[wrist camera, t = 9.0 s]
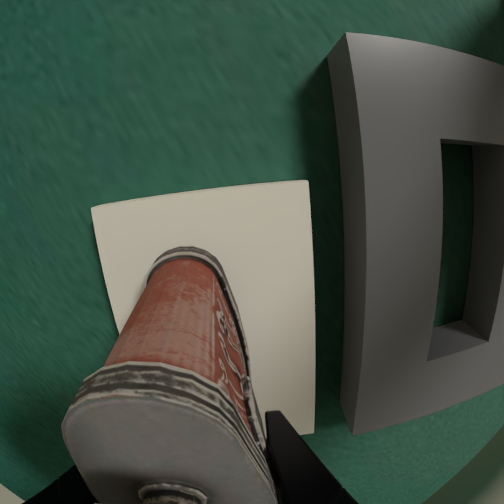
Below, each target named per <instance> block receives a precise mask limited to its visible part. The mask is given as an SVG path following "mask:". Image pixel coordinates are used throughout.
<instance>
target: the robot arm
mask: <svg viewBox="0 0 504 504" xmlns="http://www.w3.org/2000/svg"><path fill="white" fill-rule="evenodd" d="M265 424H266V437H267V446H268V453H269V461H270V472H271V477H272V480H273V483H274V486H275V489H276V491H277V494H278V498H279V502H280V504H358V502H357V501H356V500H355V499H354V498H353V497H352V496H351V495H350V494H349V493H348V492H347V491H346V490H345V488H342V485H341V484H340V483H339V482H338V481H337V480H336V478H335V477H334V476H333V475H332V474H331V473H330V471H329V470H328V469H327V468H326V467H325V465H324V464H323V463H322V462H321V461H320V460H319V458H318V457H317V456H316V455H315V454H314V452H313V451H312V450H311V449H310V447H309V446H308V445H307V444H306V443H305V441H304V440H303V439H302V438H301V436H300V435H299V434H298V433H297V431H296V430H295V429H294V428H293V426H292V425H291V424H290V423H289V421H288V420H287V419H286V417H285V416H284V415H283V414H282V412H281V411H280V410H273V411H266V412H265ZM22 504H100V503H99V502H98V501H97V499H96V498H95V497H94V496H93V494H92V493H91V491H90V490H89V488H88V486H87V484H86V483H85V481H84V479H83V477H82V476H81V474H80V472H79V470H78V468H77V466H76V464H75V465H74V466H73V467H71V468H70V469H69V470H68V471H66V472H65V473H64V474H63V475H61V476H60V477H59V480H58V479H56V480H55V481H54V482H53V483H51V484H50V485H49V486H47V487H46V488H45V489H43V490H42V491H41V492H39V493H38V494H36V495H35V496H33V497H32V498H30V499H29V500H27V501H25V502H24V503H22Z"/></svg>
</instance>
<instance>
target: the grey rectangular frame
mask: <svg viewBox="0 0 504 504" xmlns="http://www.w3.org/2000/svg"><path fill="white" fill-rule="evenodd" d="M327 60H328V66H329V73H330V79H331V87H332V94H333V102H334V110H335V119H336V128H337V138H338V148H339V160H340V173H341V187H342V205H343V228H344V335H343V357H342V374H341V389H340V401H339V403H340V405H341V408H342V410H343V413H344V416H345V418H346V421H347V424H348V426H349V429H350V432H351V434H352V436H353V435H357V434H362V433H366V432H370V431H374V430H378V429H382V428H386V427H389V426H393V425H396V424H400V423H403V422H407V421H410V420H413V419H416V418H419V417H422V416H425V415H428V414H431V413H434V412H437V411H440V410H443V409H445V408H448V407H451V406H453V405H456V404H458V403H461V402H463V401H466V400H468V399H471V398H473V397H475V396H478V395H480V394H482V393H485V392H487V391H489V390H491V389H493V388H495V387H498V386H500V385H502V384H504V66H503V65H501V64H498V63H495V62H492V61H489V60H486V59H483V58H480V57H476V56H473V55H470V54H466V53H463V52H459V51H455V50H451V49H447V48H443V47H439V46H435V45H430V44H425V43H421V42H415V41H410V40H404V39H398V38H392V37H385V36H377V35H369V34H359V33H348V32H345V34H344V35H343V36H342V37H341V39H340V40H339V41H338V42H337V44H336V45H335V46H334V47H333V49H332V50H331V51H330V52H329V54H328V55H327ZM441 143H444V144H458V145H469V146H472V159H473V191H474V200H473V232H472V247H471V259H470V269H469V277H468V285H467V292H466V299H465V305H464V311H463V317H462V320H459V321H456V322H452V323H448V324H444V325H440V326H436V327H433V324H434V318H435V311H436V303H437V296H438V287H439V277H440V266H441V252H442V232H443V177H442V157H441Z"/></svg>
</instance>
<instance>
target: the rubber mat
mask: <svg viewBox="0 0 504 504" xmlns="http://www.w3.org/2000/svg"><path fill="white" fill-rule="evenodd" d="M91 212H92V218H93V224H94V230H95V235H96V241H97V246H98V251H99V256H100V261H101V265H102V270H103V274H104V279H105V283H106V287H107V291H108V295H109V299H110V303H111V307H112V310H113V314H114V318H115V321H116V325H117V328H118V332H119V335H120V333H121V331H122V329H123V327H124V325H125V324H126V322H127V320H128V318H129V316H130V314H131V312H132V311H133V309H134V307H135V305H136V303H137V302H138V300H139V298H140V296H141V294H142V293H143V291H144V281H145V276H146V274H147V272H148V271H149V269H150V268H151V266H152V265H153V263H154V261H155V260H156V258H157V257H159V256H160V255H161V254H163V253H164V252H165V251H167V250H169V249H172V248H175V247H178V246H195V247H198V248H202V249H205V250H207V251H208V252H210V253H211V254H212V255H214V256H215V257H216V258H217V259H218V261H219V262H220V264H221V265H222V267H223V270H224V272H225V275H226V278H227V280H228V283H229V285H230V288H231V290H232V293H233V296H234V298H235V301H236V303H237V306H238V310H239V314H240V318H241V322H242V325H243V329H244V333H245V337H246V341H247V346H248V351H249V357H250V369H251V380H252V388H253V391H254V395H255V398H256V402H257V405H258V409H259V412H260V415H261V419H262V423H263V428H264V433H265V438H266V439H267V437H266V424H265V412H266V411H273V410H280V411H281V412H282V414H283V415H284V416H285V417H286V419H287V420H288V421H289V423H290V424H291V425H292V426H293V428H294V429H295V430H296V431H297V433H298V434H299V435H304V434H311V433H314V420H315V291H314V264H313V243H312V225H311V209H310V195H309V182H308V181H307V180H293V181H281V182H269V183H258V184H248V185H238V186H229V187H220V188H211V189H203V190H195V191H187V192H180V193H172V194H165V195H158V196H151V197H145V198H138V199H132V200H126V201H120V202H114V203H108V204H102V205H99V206H95V207H92V208H91Z"/></svg>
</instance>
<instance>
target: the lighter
mask: <svg viewBox="0 0 504 504" xmlns="http://www.w3.org/2000/svg"><path fill="white" fill-rule="evenodd" d="M61 428H62V434H63V439H64V442H65V444H66V447H67V449H68V451H69V453H70V455H71V457H72V459H73V461H74V463H75V464H76V466H77V468H78V470H79V472H80V474H81V476H82V477H83V479H84V481H85V483H86V484H87V486H88V488H89V490H90V491H91V493H92V494H93V496H94V497H95V498H96V499H97V501H98V502H99V503H100V504H280V502H279V498H278V494H277V491H276V489H275V486H274V483H273V480H272V477H271V475H270V461H269V453H268V448H267V443H266V438H265V433H264V428H263V423H262V419H261V415H260V412H259V409H258V405H257V402H256V398H255V395H254V391H253V388H252V380H251V369H250V357H249V351H248V346H247V341H246V337H245V333H244V329H243V325H242V322H241V318H240V314H239V310H238V306H237V303H236V301H235V298H234V296H233V293H232V290H231V288H230V285H229V283H228V280H227V278H226V275H225V272H224V270H223V267H222V265H221V264H220V262H219V261H218V259H217V258H216V257H215V256H214V255H212V254H211V253H210V252H208V251H207V250H205V249H202V248H198V247H195V246H178V247H175V248H172V249H169V250H167V251H165V252H164V253H163V254H161V255H160V256H159V257H157V258H156V260H155V261H154V263H153V265H152V266H151V268H150V269H149V271H148V272H147V274H146V276H145V281H144V291H143V293H142V294H141V296H140V298H139V300H138V302H137V303H136V305H135V307H134V309H133V311H132V312H131V314H130V316H129V318H128V320H127V322H126V324H125V325H124V327H123V329H122V331H121V333H120V335H119V337H118V339H117V341H116V342H115V344H114V346H113V348H112V350H111V352H110V354H109V356H108V358H107V360H106V362H105V364H104V366H103V367H102V368H100V369H99V370H97V371H96V372H94V373H93V374H91V375H90V376H88V377H87V378H85V379H84V381H83V382H82V384H81V386H80V388H79V390H78V392H77V394H76V396H75V398H74V400H73V402H72V403H71V405H70V407H69V409H68V411H67V413H66V415H65V418H64V420H63V422H62V424H61Z"/></svg>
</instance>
